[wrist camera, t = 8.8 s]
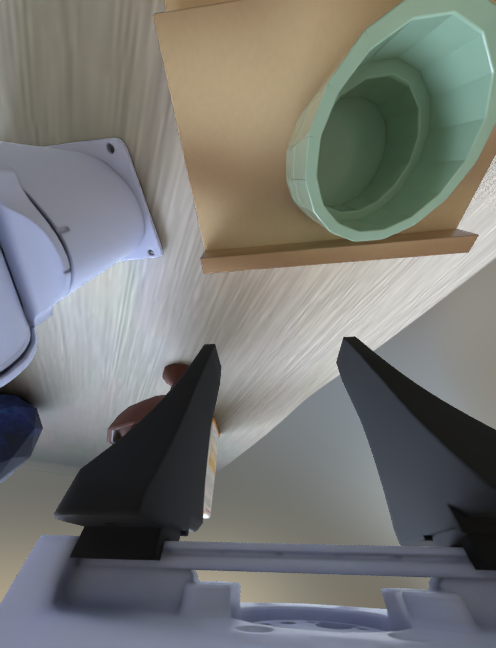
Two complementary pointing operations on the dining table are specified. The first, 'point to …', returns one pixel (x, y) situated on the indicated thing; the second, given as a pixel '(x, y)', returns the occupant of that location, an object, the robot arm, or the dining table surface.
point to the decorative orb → (16, 433)
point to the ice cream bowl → (142, 406)
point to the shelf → (274, 129)
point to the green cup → (397, 119)
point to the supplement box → (210, 469)
